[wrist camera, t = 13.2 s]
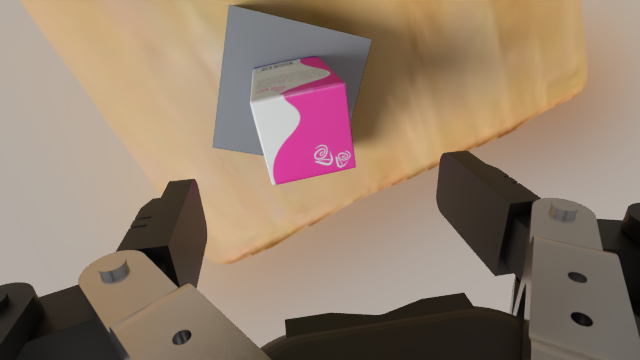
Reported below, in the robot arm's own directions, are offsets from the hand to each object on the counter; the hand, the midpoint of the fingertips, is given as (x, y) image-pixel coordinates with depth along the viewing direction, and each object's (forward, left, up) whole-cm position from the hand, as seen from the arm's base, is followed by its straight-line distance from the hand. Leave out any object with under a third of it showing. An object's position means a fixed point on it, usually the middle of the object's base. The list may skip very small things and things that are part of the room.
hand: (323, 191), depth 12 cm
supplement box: (+2, +1, -22) cm, 22 cm away
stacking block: (+2, 0, -28) cm, 28 cm away
